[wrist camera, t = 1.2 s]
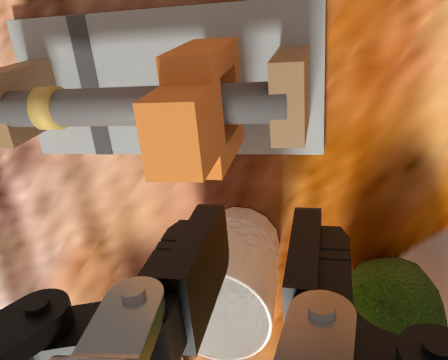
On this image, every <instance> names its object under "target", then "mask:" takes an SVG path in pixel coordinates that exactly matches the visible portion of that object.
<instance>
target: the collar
mask: <svg viewBox="0 0 448 360" xmlns="http://www.w3.org/2000/svg"><path fill="white" fill-rule="evenodd" d="M155 61H156V68H157V75H158V81H159V86H158V87H157V88H155V89H154V90H152V91H151V92H149V93H148V94H146V95H145V96H143V97H142V98H140V99H138V100H137V101H135V102H134V103H132V104H133V110H134V115H135V121H136V127H137V132H138V138H139V144H140V149H141V155H142V161H143V166H144V172H145V178H146V181H147V182H196V183H204V181H205V180H223V178H224V176H225V174H226V173H227V171H228V169H229V167H230V165H231V163H232V161H233V159H234V158H235V156H236V154H237V152H238V150H239V148H240V146H241V144H242V143H243V141H244V139H245V138H244V124H228V125H224V118H223V107H222V95H221V84H220V83H239V82H241V80H240V65H239V51H238V36H236V37H220V38H204V39H193V40H191V41H188V42H186V43H184V44H182V45H180V46H178V47H176V48H174V49H171V50H169V51H167V52H165V53H163V54H161V55H159V56H157V57H155Z"/></svg>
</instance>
